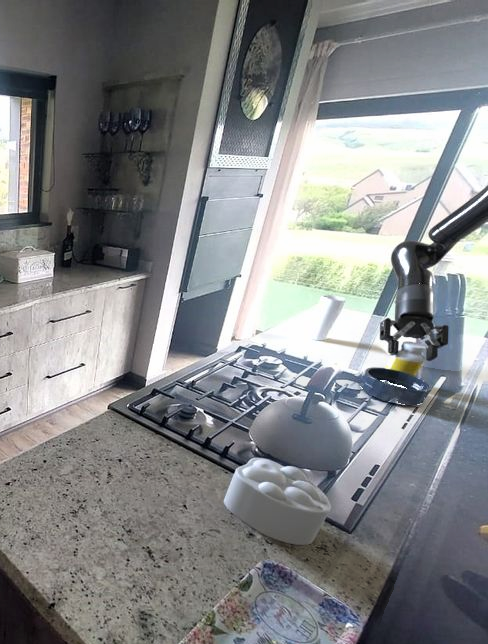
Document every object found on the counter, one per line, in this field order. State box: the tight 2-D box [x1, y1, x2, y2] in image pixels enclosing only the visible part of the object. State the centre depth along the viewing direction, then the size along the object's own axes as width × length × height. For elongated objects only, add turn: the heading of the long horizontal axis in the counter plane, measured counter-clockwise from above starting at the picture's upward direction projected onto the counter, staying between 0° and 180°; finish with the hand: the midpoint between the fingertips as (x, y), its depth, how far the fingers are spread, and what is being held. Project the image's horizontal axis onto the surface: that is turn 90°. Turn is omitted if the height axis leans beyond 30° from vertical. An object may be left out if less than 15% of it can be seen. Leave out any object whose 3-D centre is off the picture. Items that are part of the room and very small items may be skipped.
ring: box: [358, 366, 433, 406], centre depth 108 cm, size 13×13×5 cm
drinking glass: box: [307, 294, 346, 342], centre depth 141 cm, size 7×7×15 cm
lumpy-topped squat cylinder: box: [223, 457, 332, 546], centre depth 68 cm, size 10×13×9 cm
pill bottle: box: [384, 341, 427, 376], centre depth 113 cm, size 6×6×12 cm
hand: (412, 357), depth 110 cm, fingers open, 7 cm apart
